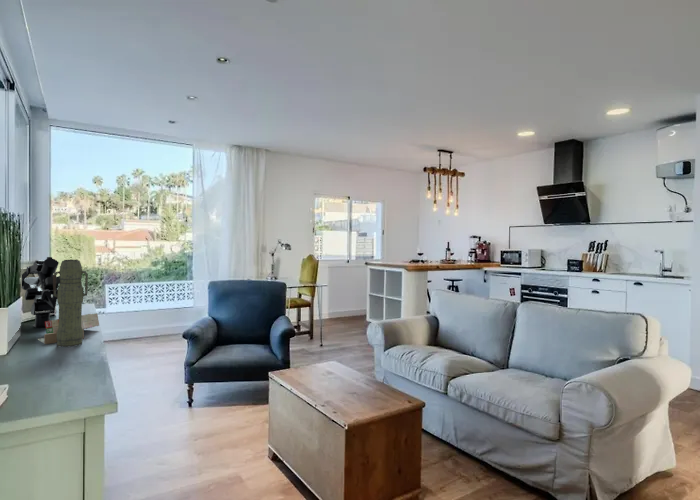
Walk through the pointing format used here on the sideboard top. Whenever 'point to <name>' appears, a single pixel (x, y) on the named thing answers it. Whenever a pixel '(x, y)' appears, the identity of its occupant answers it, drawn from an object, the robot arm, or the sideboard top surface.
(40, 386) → the sideboard top surface
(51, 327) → the stack of blocks
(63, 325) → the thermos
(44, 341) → the dock pad
